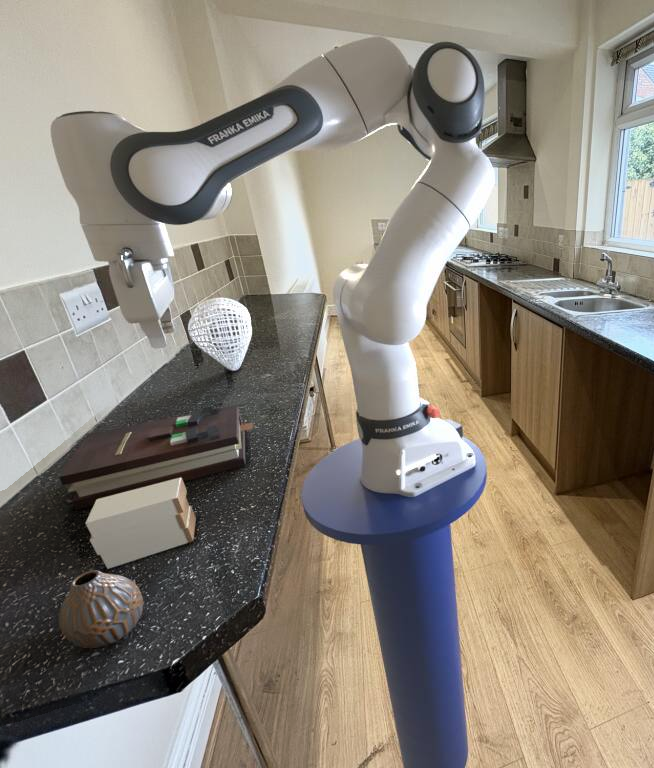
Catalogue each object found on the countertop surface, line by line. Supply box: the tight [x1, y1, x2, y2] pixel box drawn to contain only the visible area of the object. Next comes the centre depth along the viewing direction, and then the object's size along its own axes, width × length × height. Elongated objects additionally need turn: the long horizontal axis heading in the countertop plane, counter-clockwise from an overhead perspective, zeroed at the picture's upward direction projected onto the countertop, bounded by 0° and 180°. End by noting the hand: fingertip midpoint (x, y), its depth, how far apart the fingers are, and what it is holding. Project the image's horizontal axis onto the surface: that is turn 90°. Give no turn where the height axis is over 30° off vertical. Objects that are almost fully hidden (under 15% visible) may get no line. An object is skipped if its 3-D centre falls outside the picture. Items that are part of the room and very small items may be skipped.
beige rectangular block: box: [89, 498, 197, 570], centre depth 62 cm, size 10×6×6 cm, turn 122°
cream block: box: [85, 477, 188, 539], centre depth 61 cm, size 10×6×3 cm, turn 123°
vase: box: [58, 569, 144, 649], centre depth 48 cm, size 7×7×9 cm
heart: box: [187, 297, 253, 372], centre depth 128 cm, size 28×16×22 cm, turn 32°
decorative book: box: [58, 401, 254, 510], centre depth 82 cm, size 19×8×30 cm
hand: (164, 339), depth 64 cm, fingers open, 8 cm apart
